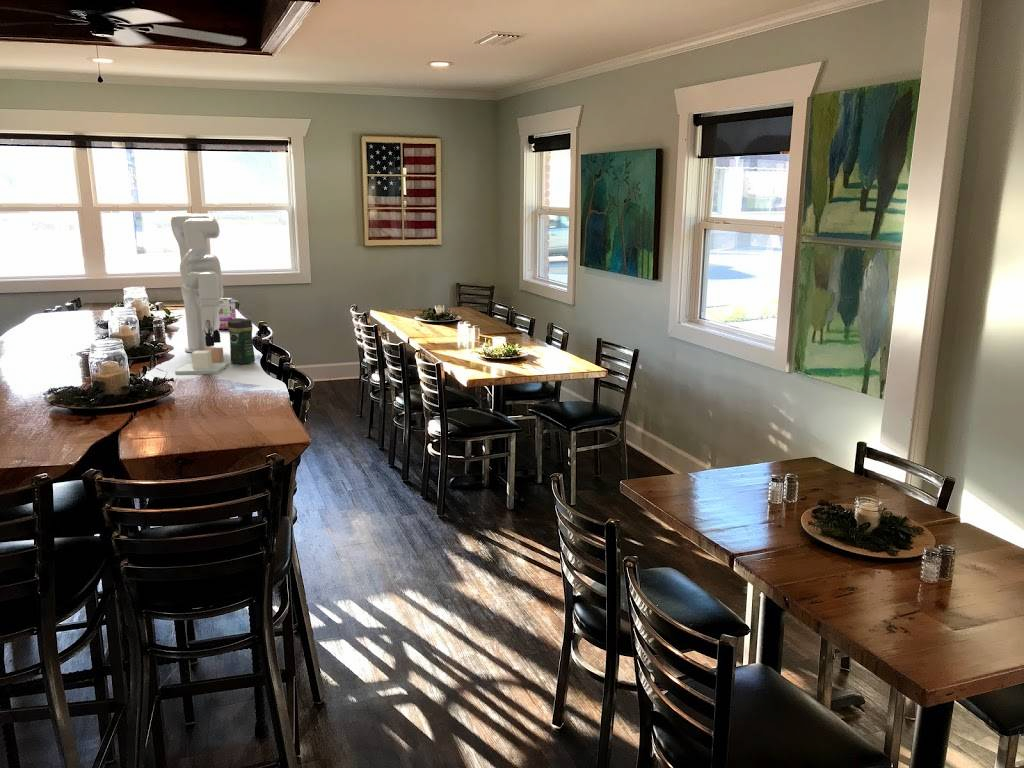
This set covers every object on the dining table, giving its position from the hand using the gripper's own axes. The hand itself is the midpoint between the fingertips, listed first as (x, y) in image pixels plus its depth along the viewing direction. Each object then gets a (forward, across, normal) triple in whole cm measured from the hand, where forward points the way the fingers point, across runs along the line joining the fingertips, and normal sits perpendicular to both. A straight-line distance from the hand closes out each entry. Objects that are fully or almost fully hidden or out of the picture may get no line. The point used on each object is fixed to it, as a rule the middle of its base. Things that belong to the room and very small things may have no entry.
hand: (213, 344), depth 332 cm
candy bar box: (+5, -92, -18) cm, 94 cm away
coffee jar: (+8, -1, +11) cm, 14 cm away
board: (+8, +13, -1) cm, 15 cm away
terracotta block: (+8, -1, 0) cm, 8 cm away
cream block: (+7, +13, -1) cm, 15 cm away
